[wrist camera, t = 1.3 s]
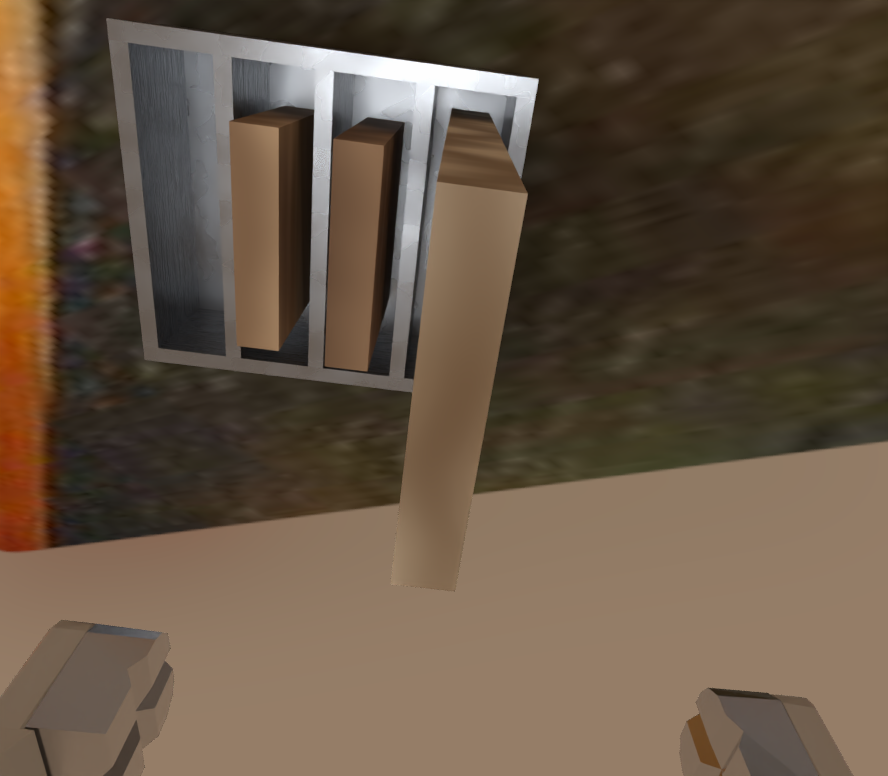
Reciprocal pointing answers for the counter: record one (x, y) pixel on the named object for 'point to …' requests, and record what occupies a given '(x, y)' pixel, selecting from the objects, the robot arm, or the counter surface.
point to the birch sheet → (457, 346)
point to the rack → (335, 110)
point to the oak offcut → (271, 222)
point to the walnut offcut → (361, 238)
